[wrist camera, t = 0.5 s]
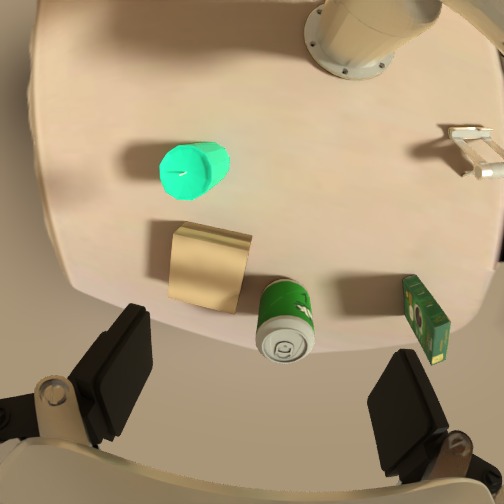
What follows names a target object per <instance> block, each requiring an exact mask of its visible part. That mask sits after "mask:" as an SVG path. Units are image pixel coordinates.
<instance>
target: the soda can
mask: <svg viewBox="0 0 504 504" xmlns="http://www.w3.org/2000/svg"><path fill="white" fill-rule="evenodd" d="M314 343H315V333H314V326H313V319H312V311H311V304H310V297H309V294H308V291H307V290H306V288H305V287H304V286H303V285H302V284H300V283H299V282H297V281H294V280H290V279H280V280H277V281H274V282H272V283H271V284H269V285H268V286H267V287H266V288H265V289H264V291H263V293H262V296H261V300H260V308H259V316H258V323H257V331H256V346H257V348H258V350H259V352H260V353H261V354H262V355H263V356H264V357H266V358H268V359H269V360H271V361H273V362H276V363H280V364H290V363H294V362H297V361H299V360H300V359H302V358H304V357H305V356H307V355H308V354H309V353H310V352H311V350H312V348H313V346H314Z"/></svg>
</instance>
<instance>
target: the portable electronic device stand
mask: <svg viewBox="0 0 504 504" xmlns="http://www.w3.org/2000/svg"><path fill="white" fill-rule="evenodd" d="M491 131H493V129H492V128H484V127H450V128H449V129H448V136H449V138H450V139H451V140H452V141H453V142H454V143H455V144H456V145H457V146H458V147H460V148H461V149H462V150H463V151H464V152H465V153H466V154H467V155H468V156H469V157H470V158H471V159H472V160H473V162H474V170H472V171H470V172H468V173H466V174H464V175H462V177H468V176H470V175H475V177H476V179H478V180H485V179H496V178H504V162H501V163H487V162H486V161H485V160H484V159H483V158H482V157H481V156H480V155H479V154H478V153H477V152H476V151H474V150H473V149H472V148H471V147H470V146H469V145H468V144H467V143H466V142H465V141H463V139H482V140H483V141H484V142H486V143H487V144H488V145H489V146H490V147H491V148H492V149H494V150H495V151H496V152H497V153H498V154H499V155H500V156H501V157H502V158H503V159H504V150H503V149H502V148H501V147H500V146H499V145H498V144H496V143H495V142H494V141H493V140H492V138H491V137H490V133H491Z"/></svg>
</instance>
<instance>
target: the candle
mask: <svg viewBox="0 0 504 504" xmlns="http://www.w3.org/2000/svg"><path fill="white" fill-rule="evenodd" d="M229 164H230V158H229V156H228V154H227V152H226V150H225V148H223V147H222V146H220V145H219V144H217V143H215V142H200V143H192V144H184V145H178V146H177V147H175V148H173V149H172V150H170V151H169V152H167V154H166V155H165V157H164V158H163V160H162V162H161V163H160V165H159V169H160V180H161V182H162V185H163V187H164V189H165V192H166V193H168V194H169V195H171V196H173V197H174V198H176V199H178V200H193V199H195V198H197V197H199V196H201V195H203V194H205V193H206V192H207V191H209V190H210V189H211V188H212V187H213V186H215V185H216V184H217V183H219V182H220V181H221V180H222V179H223V178H224V177H225V175H226V174H227V172H228V171H229Z"/></svg>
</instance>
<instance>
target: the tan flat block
mask: <svg viewBox="0 0 504 504" xmlns="http://www.w3.org/2000/svg"><path fill="white" fill-rule="evenodd" d="M180 227H184V228H189V229H193V230H198V231H202V232H207V233H211V234H215V235H220V236H224V237H229V238H233V239H237V240H242V241H246V242H251V240H252V235H247V234H243V233H238V232H234V231H229V230H225V229H220V228H215V227H211V226H206V225H202V224H197V223H192V222H188V221H185V222H184V223H183V224H182V225H181V226H180ZM250 245H251V244H250ZM249 250H250V248H249ZM248 254H249V253H248ZM247 259H248V257H247ZM246 263H247V262H246ZM245 268H246V266H245ZM244 273H245V271H244ZM243 277H244V276H243ZM242 282H243V280H242ZM241 287H242V285H241ZM240 291H241V289H240ZM239 296H240V294H239ZM238 300H239V298H238Z"/></svg>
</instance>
